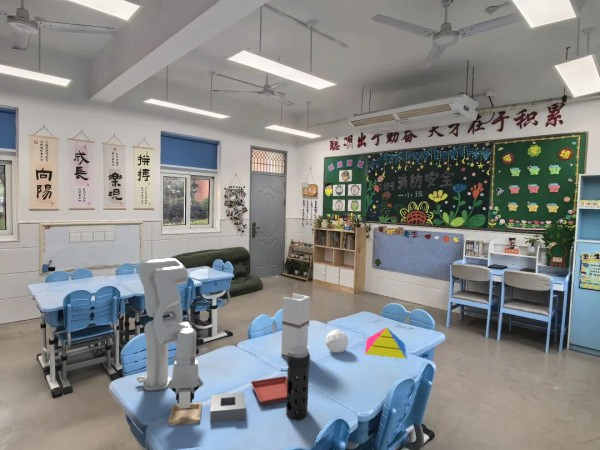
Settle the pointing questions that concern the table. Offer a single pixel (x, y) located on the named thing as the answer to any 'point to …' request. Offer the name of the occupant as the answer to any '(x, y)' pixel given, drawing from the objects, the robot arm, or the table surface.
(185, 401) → the plug
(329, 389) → the table surface
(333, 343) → the geodesic sphere
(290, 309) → the white banded pillar
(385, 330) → the pyramid toy
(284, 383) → the plant saucer
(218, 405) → the block
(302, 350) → the muzzle brake
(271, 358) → the table surface
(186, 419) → the tray
